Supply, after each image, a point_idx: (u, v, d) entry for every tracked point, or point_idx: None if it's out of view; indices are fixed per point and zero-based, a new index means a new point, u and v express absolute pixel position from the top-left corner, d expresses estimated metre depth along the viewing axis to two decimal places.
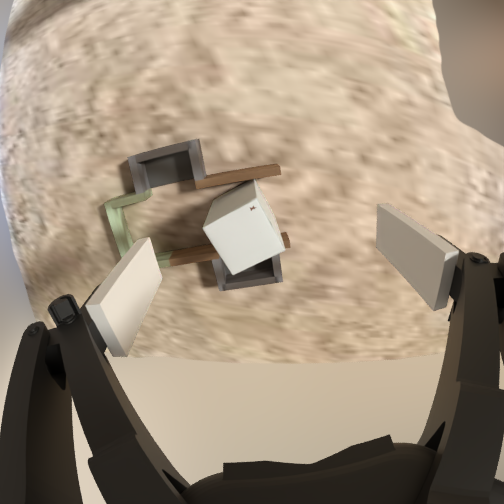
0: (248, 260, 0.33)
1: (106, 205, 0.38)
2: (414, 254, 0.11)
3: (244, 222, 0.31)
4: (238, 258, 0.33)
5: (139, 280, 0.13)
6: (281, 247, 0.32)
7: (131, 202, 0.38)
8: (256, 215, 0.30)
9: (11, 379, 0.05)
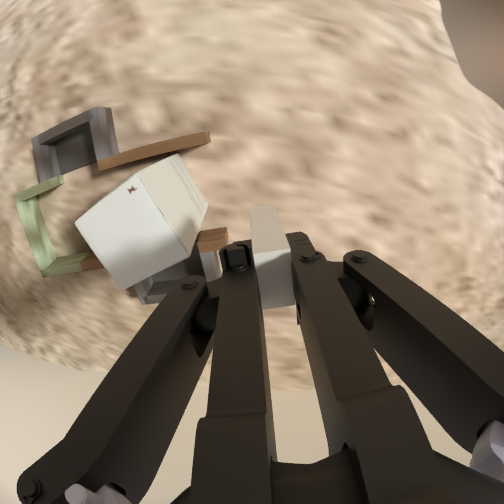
0: (137, 269, 0.20)
1: (16, 198, 0.25)
2: None
3: (123, 212, 0.18)
4: (124, 267, 0.20)
5: None
6: (183, 251, 0.20)
7: (36, 193, 0.25)
8: (138, 200, 0.18)
9: (140, 332, 0.07)
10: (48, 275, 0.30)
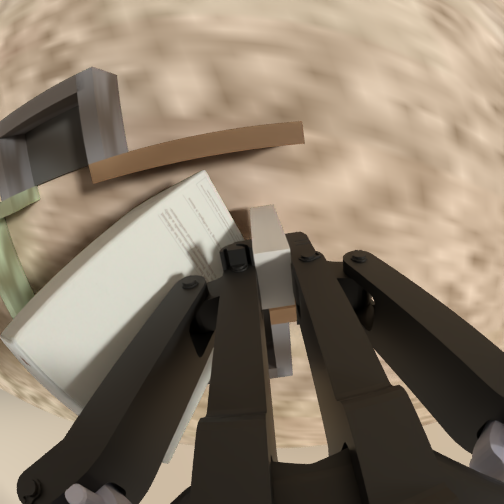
0: None
1: None
2: None
3: (36, 377, 0.07)
4: None
5: None
6: None
7: None
8: (44, 382, 0.06)
9: (140, 332, 0.07)
10: None
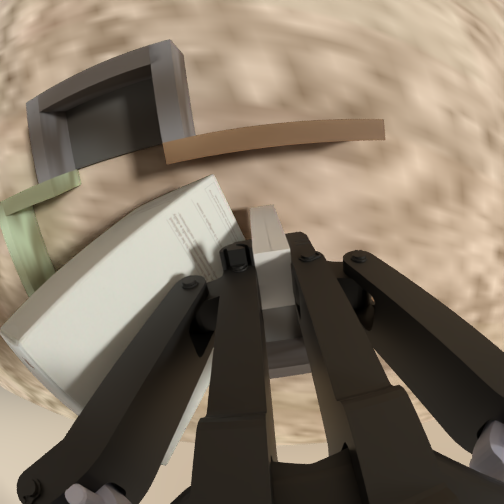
0: None
1: None
2: None
3: (38, 377, 0.07)
4: None
5: None
6: None
7: (32, 202, 0.14)
8: (47, 384, 0.06)
9: (140, 332, 0.07)
10: None
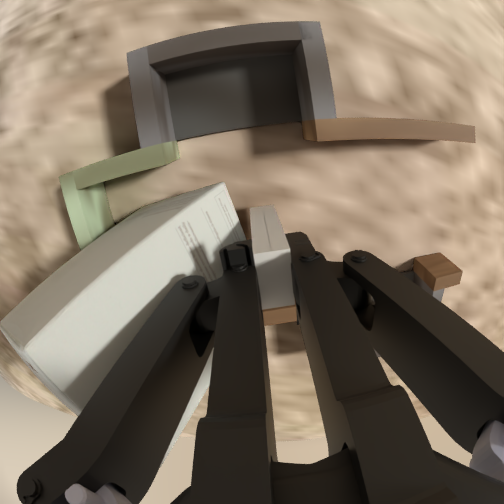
0: None
1: (64, 181, 0.13)
2: None
3: (38, 377, 0.07)
4: None
5: None
6: None
7: (126, 171, 0.14)
8: (50, 387, 0.06)
9: (140, 332, 0.07)
10: None
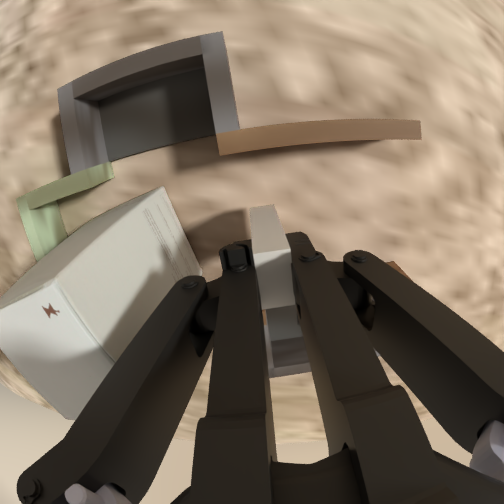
0: None
1: (20, 203, 0.14)
2: None
3: (44, 341, 0.07)
4: (62, 402, 0.09)
5: None
6: None
7: (62, 194, 0.14)
8: (66, 333, 0.07)
9: (140, 332, 0.07)
10: None
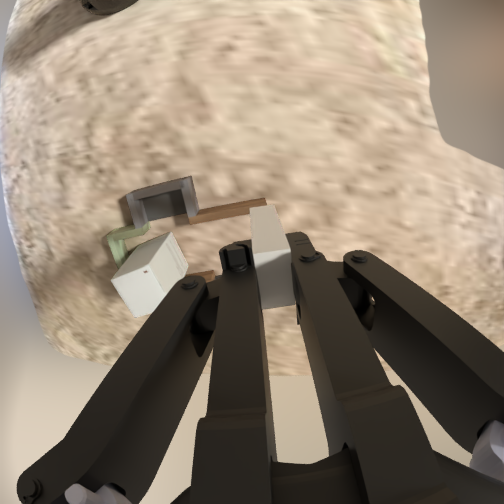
0: (144, 309, 0.37)
1: (108, 238, 0.42)
2: None
3: (140, 281, 0.35)
4: (137, 307, 0.37)
5: None
6: None
7: (131, 236, 0.42)
8: (148, 277, 0.35)
9: (140, 332, 0.07)
10: None
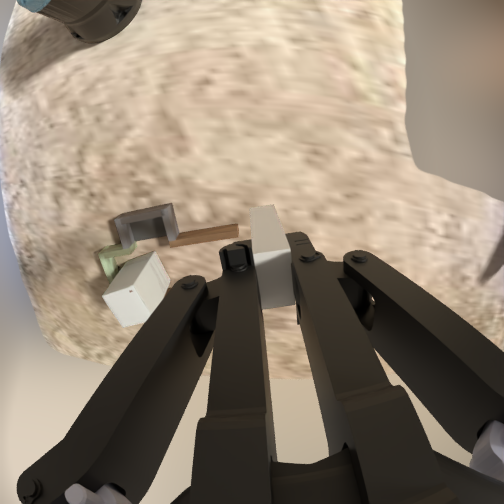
0: (131, 321, 0.42)
1: (100, 255, 0.47)
2: None
3: (126, 298, 0.40)
4: (125, 319, 0.42)
5: None
6: None
7: (120, 255, 0.47)
8: (133, 295, 0.40)
9: (140, 332, 0.07)
10: None
